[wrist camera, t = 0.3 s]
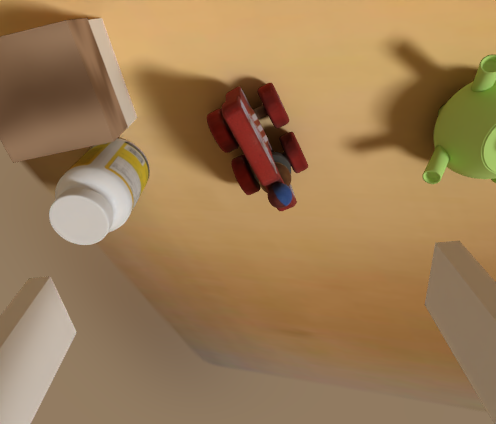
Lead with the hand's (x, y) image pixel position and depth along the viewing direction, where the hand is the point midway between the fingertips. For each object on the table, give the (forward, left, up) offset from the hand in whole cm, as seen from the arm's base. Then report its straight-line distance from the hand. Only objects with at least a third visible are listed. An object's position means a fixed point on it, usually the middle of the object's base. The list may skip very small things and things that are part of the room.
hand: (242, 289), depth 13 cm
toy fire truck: (+4, +1, -27) cm, 28 cm away
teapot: (+6, +22, -27) cm, 35 cm away
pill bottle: (+4, -14, -27) cm, 31 cm away
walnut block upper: (-6, -15, -24) cm, 28 cm away
